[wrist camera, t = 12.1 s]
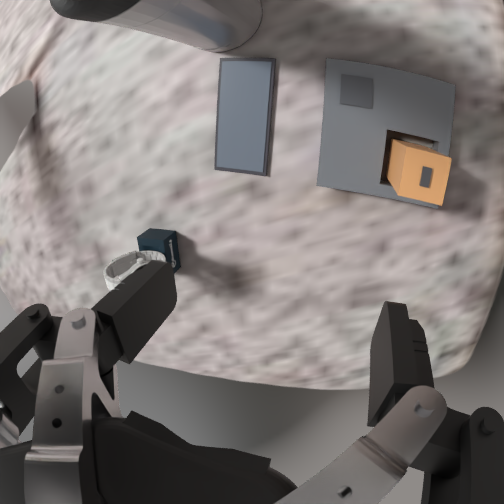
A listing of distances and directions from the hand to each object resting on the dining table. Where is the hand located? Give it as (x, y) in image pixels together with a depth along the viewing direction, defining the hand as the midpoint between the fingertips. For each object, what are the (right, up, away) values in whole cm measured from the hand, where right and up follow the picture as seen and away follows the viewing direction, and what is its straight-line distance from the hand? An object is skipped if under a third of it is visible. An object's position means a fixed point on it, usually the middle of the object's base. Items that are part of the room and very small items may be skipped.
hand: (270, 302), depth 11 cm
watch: (-13, +3, +30) cm, 33 cm away
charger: (+15, +11, +16) cm, 25 cm away
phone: (-1, +17, +19) cm, 26 cm away
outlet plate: (+13, +14, +15) cm, 24 cm away
